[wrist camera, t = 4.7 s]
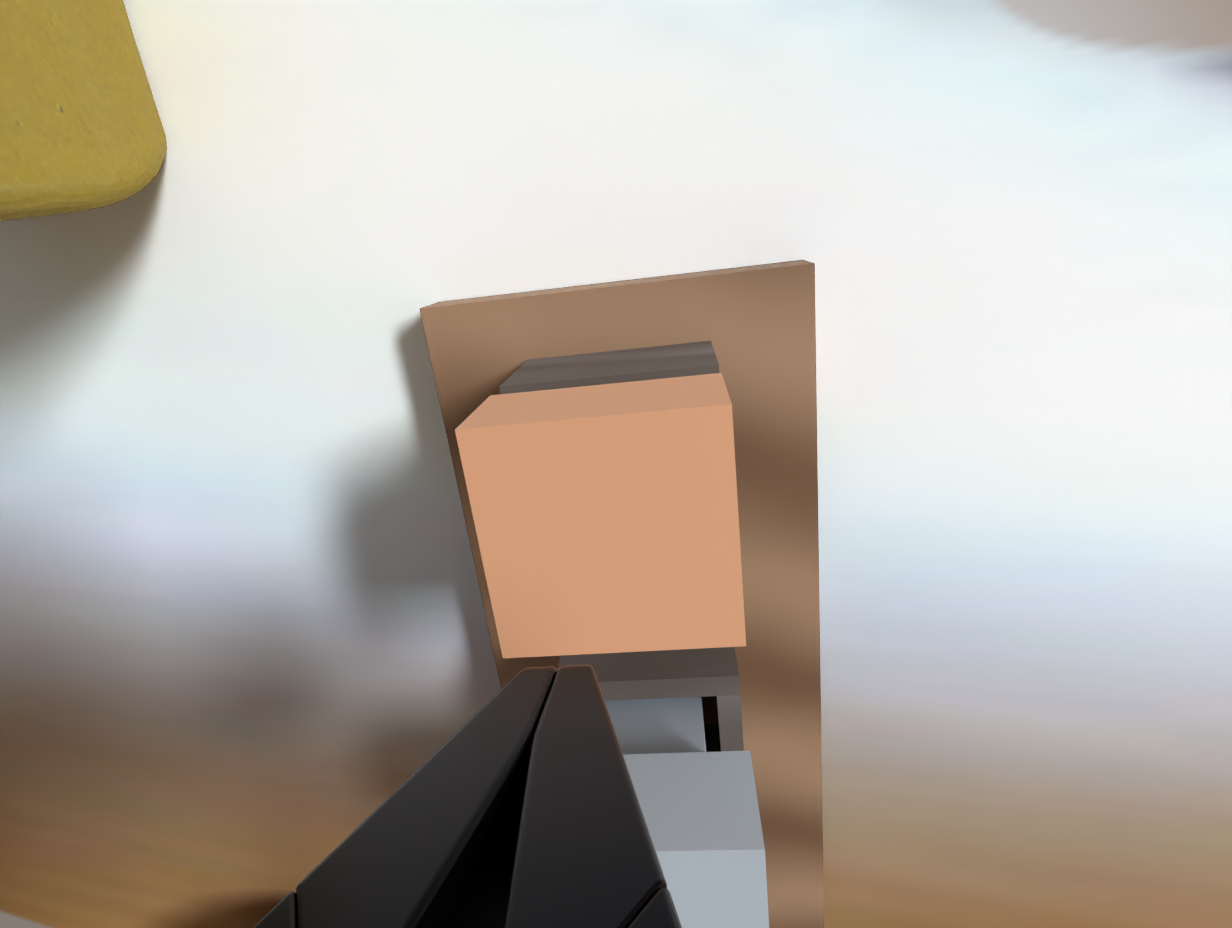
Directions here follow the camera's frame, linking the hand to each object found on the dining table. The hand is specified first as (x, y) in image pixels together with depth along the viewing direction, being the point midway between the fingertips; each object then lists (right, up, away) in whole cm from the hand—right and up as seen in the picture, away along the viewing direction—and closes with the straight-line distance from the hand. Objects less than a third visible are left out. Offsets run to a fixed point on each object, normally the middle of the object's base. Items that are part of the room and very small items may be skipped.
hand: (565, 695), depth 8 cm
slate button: (+2, -5, +10) cm, 11 cm away
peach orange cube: (+1, +3, +9) cm, 10 cm away
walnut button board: (+2, -3, +14) cm, 14 cm away
